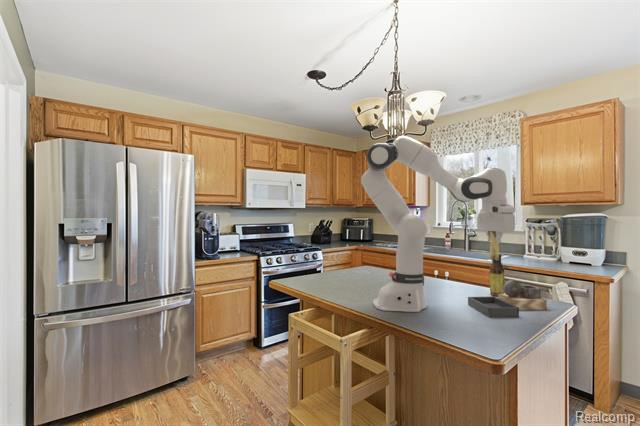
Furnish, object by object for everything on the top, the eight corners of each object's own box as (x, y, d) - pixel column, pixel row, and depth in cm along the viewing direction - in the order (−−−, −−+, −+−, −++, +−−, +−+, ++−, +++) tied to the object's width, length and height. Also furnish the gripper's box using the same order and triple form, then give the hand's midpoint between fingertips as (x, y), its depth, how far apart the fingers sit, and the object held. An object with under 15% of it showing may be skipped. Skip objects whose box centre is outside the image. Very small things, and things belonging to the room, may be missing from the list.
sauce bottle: (506, 297, 145) (506, 254, 145) (492, 296, 147) (492, 254, 146) (501, 293, 152) (501, 253, 152) (487, 293, 153) (487, 252, 153)
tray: (518, 316, 119) (518, 307, 119) (489, 317, 119) (489, 308, 118) (494, 304, 135) (494, 296, 135) (468, 305, 134) (468, 296, 134)
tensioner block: (512, 310, 127) (512, 283, 127) (497, 302, 137) (497, 277, 137) (546, 309, 128) (546, 282, 127) (529, 302, 138) (529, 277, 137)
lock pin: (493, 260, 125) (492, 230, 125) (488, 259, 128) (488, 230, 128) (500, 260, 125) (500, 230, 125) (495, 259, 128) (495, 229, 128)
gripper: (472, 208, 137) (472, 240, 137) (502, 208, 116) (502, 245, 116) (486, 208, 137) (487, 239, 137) (518, 208, 116) (518, 245, 116)
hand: (494, 242), depth 126 cm, fingers closed on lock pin, 3 cm apart
